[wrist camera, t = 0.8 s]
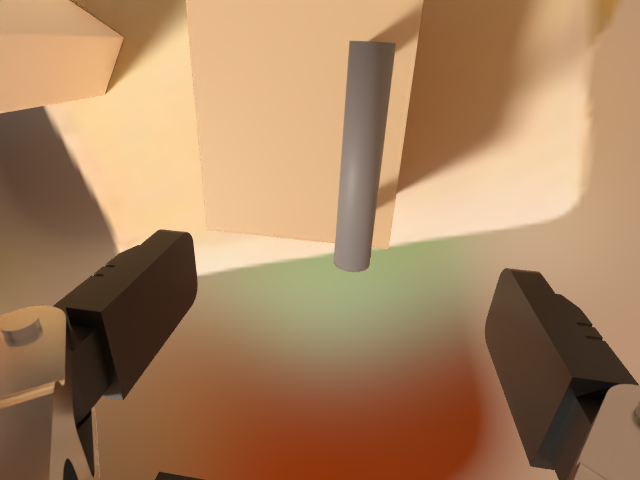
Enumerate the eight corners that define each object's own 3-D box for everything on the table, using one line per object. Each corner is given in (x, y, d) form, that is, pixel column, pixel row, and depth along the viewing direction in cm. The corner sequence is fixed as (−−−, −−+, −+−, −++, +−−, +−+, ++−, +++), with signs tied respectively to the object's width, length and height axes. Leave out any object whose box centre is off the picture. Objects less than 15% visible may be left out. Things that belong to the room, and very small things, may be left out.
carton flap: (188, -13, 24) (97, -41, 16) (423, -4, 22) (446, -31, 15) (209, 226, 31) (154, 286, 23) (388, 245, 29) (391, 314, 22)
